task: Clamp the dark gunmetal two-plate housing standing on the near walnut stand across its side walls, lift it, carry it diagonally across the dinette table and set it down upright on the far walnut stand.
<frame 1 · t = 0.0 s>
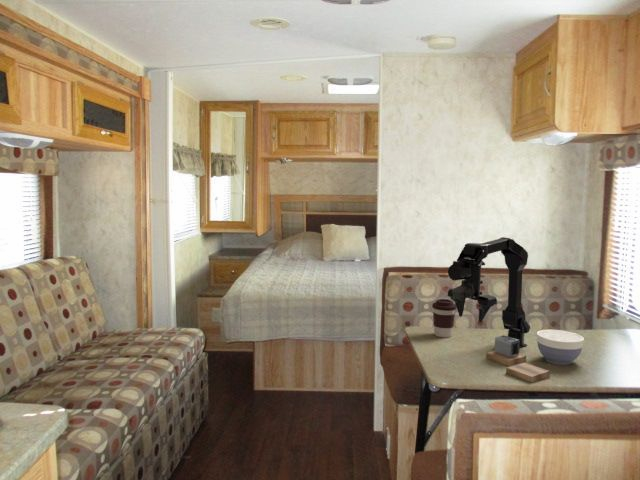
hand: (470, 319, 205), 15 cm above the table, fingers open, 9 cm apart
housing: (506, 354, 205), point 2 cm above the table, touching stand A
bowl: (558, 361, 205), on the table
coffee cup: (442, 335, 235), on the table
stand B: (527, 374, 190), on the table
stand A: (506, 359, 205), on the table
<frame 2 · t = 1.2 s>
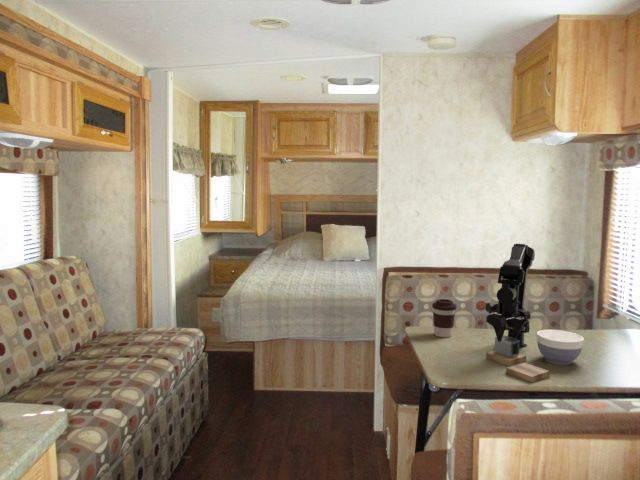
hand: (507, 339, 204), 8 cm above the table, fingers open, 9 cm apart
nothing on the table moved.
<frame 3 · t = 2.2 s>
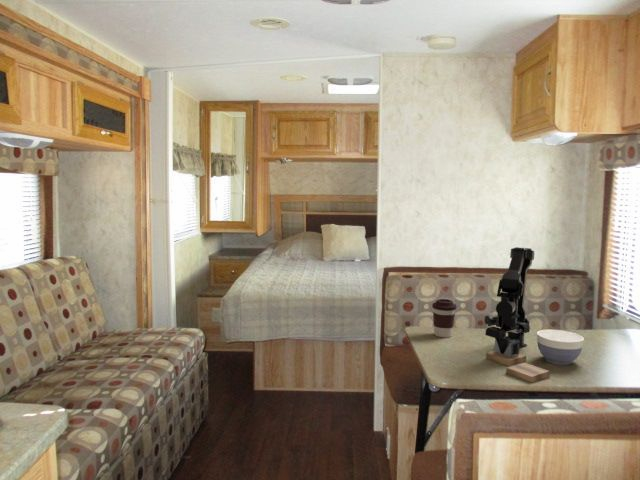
hand: (506, 352, 205), 3 cm above the table, fingers closed on housing, 5 cm apart
housing: (506, 354, 205), point 2 cm above the table, touching gripper, stand A
everything else where it was.
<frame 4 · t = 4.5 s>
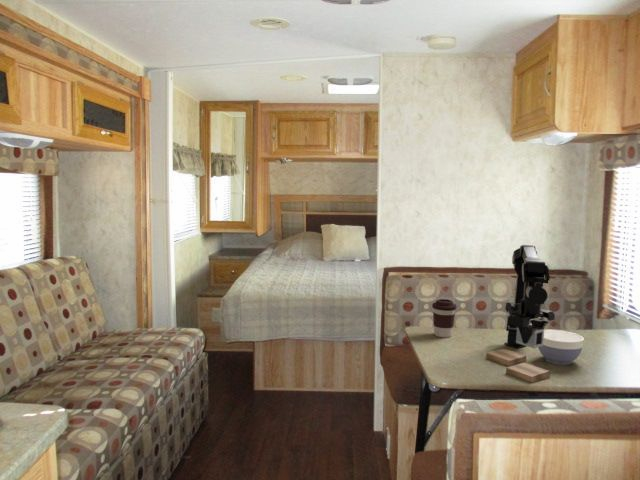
hand: (529, 342, 189), 12 cm above the table, fingers closed on housing, 5 cm apart
housing: (529, 344, 189), point 11 cm above the table, touching gripper
everything else where it was.
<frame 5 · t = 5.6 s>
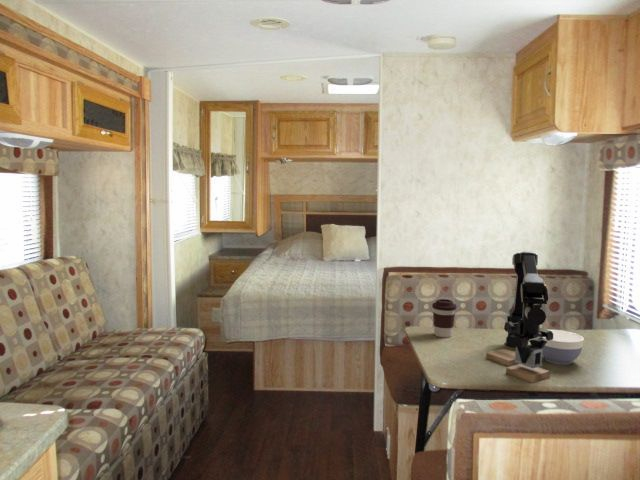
hand: (528, 361, 189), 5 cm above the table, fingers closed on housing, 5 cm apart
housing: (528, 363, 190), point 4 cm above the table, touching gripper
everything else where it was.
when the fingers open (4 cm above the table, at t = 6.6 s): housing stays where it is, resting on stand B.
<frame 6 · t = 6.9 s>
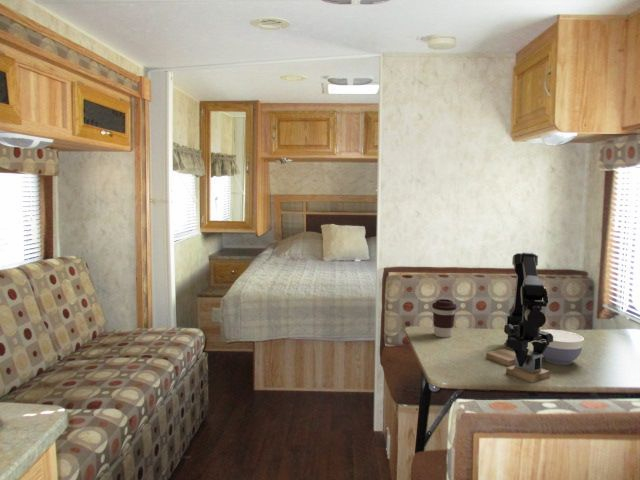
hand: (528, 364, 189), 4 cm above the table, fingers open, 8 cm apart
housing: (527, 369, 190), point 2 cm above the table, touching stand B
everything else where it was.
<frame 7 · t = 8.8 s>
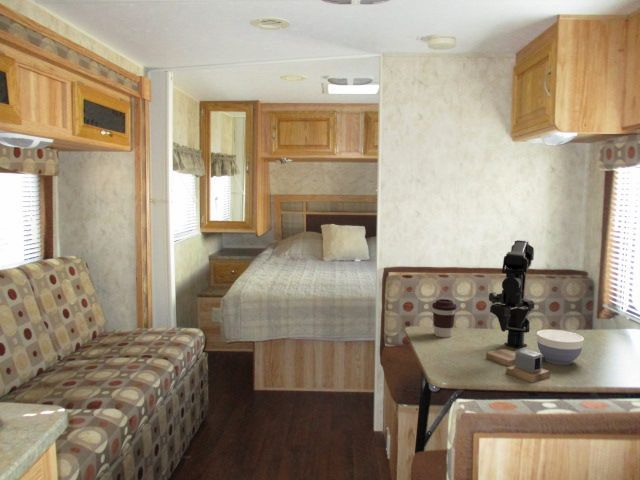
hand: (511, 329, 204), 12 cm above the table, fingers open, 9 cm apart
nothing on the table moved.
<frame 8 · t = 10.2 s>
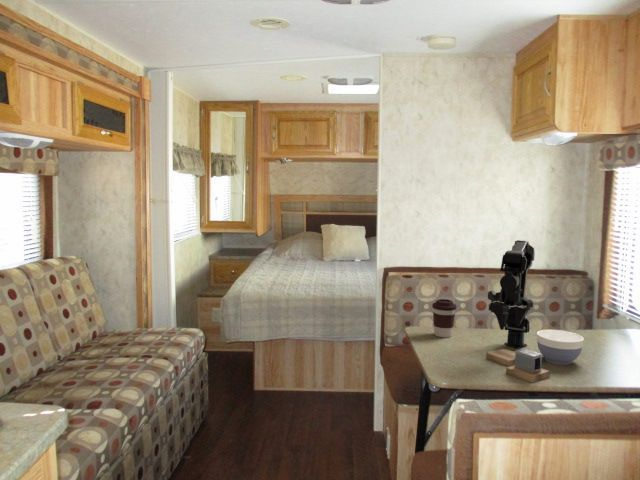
hand: (509, 327, 204), 12 cm above the table, fingers open, 9 cm apart
nothing on the table moved.
at the end: housing inside the target area on the stand B (0.1 cm from its centre), point 2.0 cm above the stand B's base; housing tilted 0°; the gripper is holding nothing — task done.
